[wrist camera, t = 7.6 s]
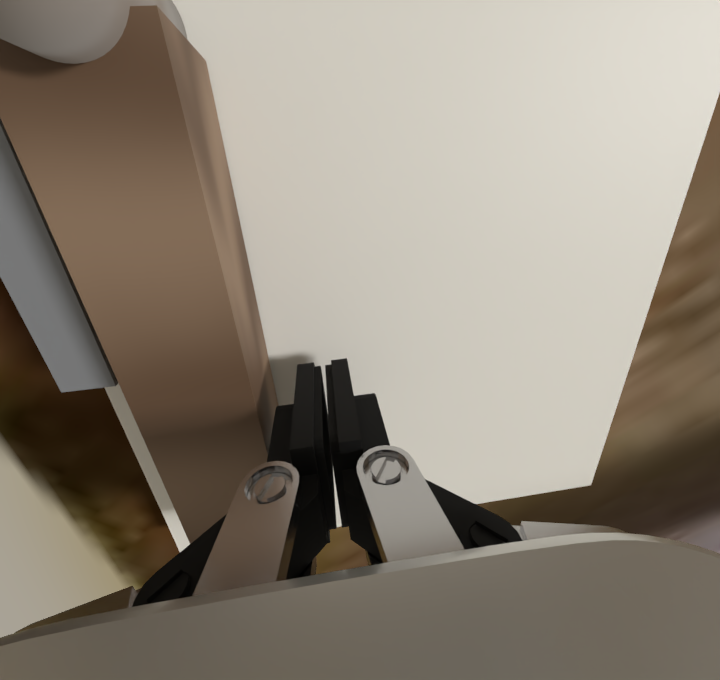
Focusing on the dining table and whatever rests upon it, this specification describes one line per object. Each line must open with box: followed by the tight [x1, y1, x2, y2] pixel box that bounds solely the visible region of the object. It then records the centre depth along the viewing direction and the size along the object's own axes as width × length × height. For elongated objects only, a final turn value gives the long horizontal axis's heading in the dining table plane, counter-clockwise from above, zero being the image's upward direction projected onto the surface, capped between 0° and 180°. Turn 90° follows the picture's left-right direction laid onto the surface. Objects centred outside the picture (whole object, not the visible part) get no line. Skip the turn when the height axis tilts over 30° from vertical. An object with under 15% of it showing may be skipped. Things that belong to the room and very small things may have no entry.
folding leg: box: [0, 0, 279, 544], centre depth 9 cm, size 16×3×4 cm, turn 4°
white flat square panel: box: [0, 0, 720, 552], centre depth 12 cm, size 20×22×4 cm
